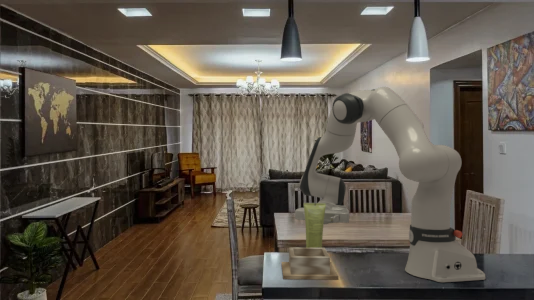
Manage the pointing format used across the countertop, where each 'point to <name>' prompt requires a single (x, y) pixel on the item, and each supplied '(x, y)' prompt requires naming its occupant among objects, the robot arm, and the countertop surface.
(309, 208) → the tube
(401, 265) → the countertop surface
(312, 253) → the socket stand
